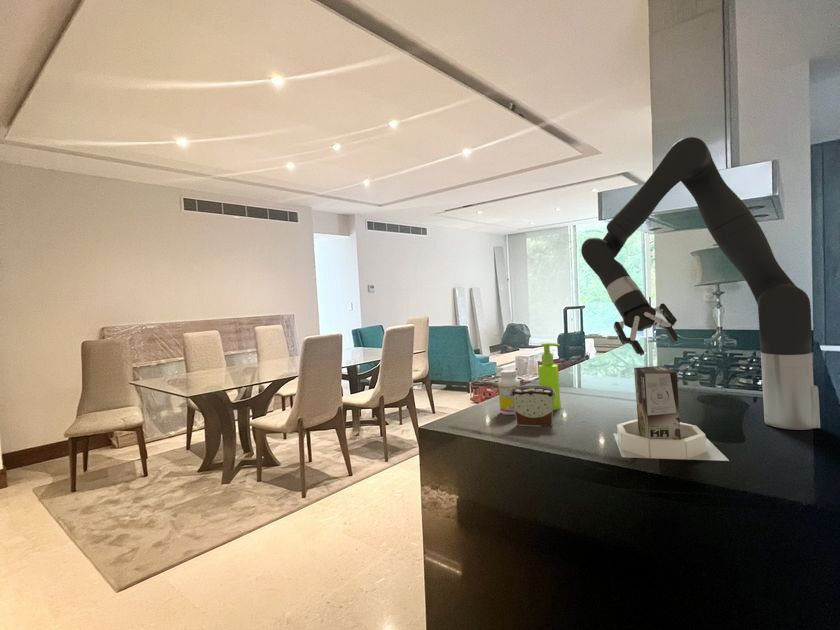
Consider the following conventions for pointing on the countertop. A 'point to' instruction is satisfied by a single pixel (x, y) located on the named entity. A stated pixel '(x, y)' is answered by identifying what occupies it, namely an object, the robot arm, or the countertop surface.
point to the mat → (709, 455)
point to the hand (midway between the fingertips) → (659, 348)
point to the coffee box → (657, 403)
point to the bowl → (662, 442)
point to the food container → (533, 405)
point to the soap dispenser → (550, 373)
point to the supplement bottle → (507, 391)
